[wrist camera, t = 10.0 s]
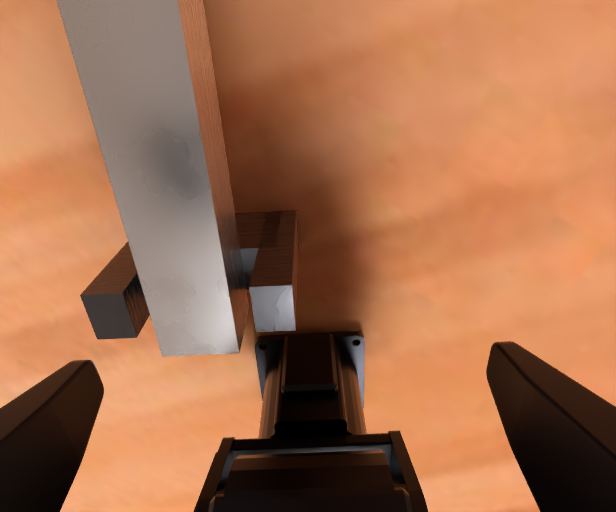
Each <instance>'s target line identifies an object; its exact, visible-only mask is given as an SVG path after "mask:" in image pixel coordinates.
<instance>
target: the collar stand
mask: <svg viewBox="0 0 616 512" xmlns="http://www.w3.org/2000/svg"><path fill="white" fill-rule="evenodd" d="M235 216H236V223H237V230H238V237H239V243H240V250H241V257H242V263H243V270H244V277H245V283H246V289H249V290H250V296H251V303H252V310H253V317H254V324H255V331H256V332H271V331H293V330H296V308H297V279H298V250H299V244H298V230H297V216H296V211H277V212H257V213H238V214H235ZM80 296H81V299H82V301H83V304H84V306H85V309H86V312H87V314H88V317H89V319H90V322H91V324H92V327H93V329H94V332H95V335H96V337H97V339H117V338H137V336H138V334H139V333H140V331H141V329H142V327H143V326H144V324H145V322H146V320H147V319H148V317H149V315H150V313H149V310H148V306H147V303H146V300H145V296H144V293H143V289H142V286H141V283H140V279H139V276H138V273H137V269H136V266H135V263H134V259H133V256H132V252H131V249H130V246H129V242H127V243H126V244H125V245H124V247H123V248H122V249H121V250H120V251H119V252H118V253H117V254H116V256H115V257H114V258H113V259H112V260H111V261H110V262H109V263H108V265H107V266H106V267H105V268H104V269H103V270H102V271H101V272H100V274H99V275H98V276H97V277H96V278H95V279H94V280H93V281H92V283H91V284H90V285H89V286H88V287H87V288H86V289H85V290H84V292H83V293H82V294H81V295H80Z"/></svg>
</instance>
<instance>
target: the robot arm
mask: <svg viewBox="0 0 616 512" xmlns="http://www.w3.org/2000/svg"><path fill="white" fill-rule="evenodd" d="M355 339H358V341H356V342H355V341H353V340H355ZM262 343H263V344H266V345H265V346H263V345H261V344H262ZM255 353H256V360H257V366H258V373H259V379H260V386H261V393H262V399H263V404H262V413H261V421H260V430H259V438H256V439H235V438H234V437H231V438H223V440H222V442H221V445H220V447H219V450H218V452H216V454H215V457H214V459H213V462H212V465H211V467H210V470H209V472H208V475H207V478H206V480H205V483H204V486H203V488H202V491H201V493H200V496H199V499H198V501H197V504H196V507H195V509H194V512H428V509H427V505H426V502H425V498H424V495H423V492H422V489H421V486H420V484H419V481H418V478H417V476H416V473H415V470H414V468H413V465H412V462H411V460H410V457H409V454H408V452H407V449H406V446H405V444H404V441H403V438H402V436H401V433H400V431H388V433H379V434H367V432H366V426H365V419H364V413H363V407H364V354H365V341H364V336H363V334H362V333H360V332H334V333H312V334H290V335H268V336H259V337H258V338H257V339H256V341H255ZM486 374H487V380H488V383H489V386H490V389H491V392H492V395H493V398H494V401H495V404H496V406H497V409H498V412H499V415H500V418H501V421H502V424H503V427H504V430H505V433H506V436H507V438H508V441H509V444H510V446H511V449H512V451H513V453H514V456H515V458H516V460H517V462H518V464H519V466H520V469H521V471H522V473H523V475H524V477H525V479H526V482H527V484H528V486H529V488H530V490H531V492H532V494H533V497H534V499H535V501H536V503H537V505H538V507H539V510H540V512H616V407H615V406H614V405H612V404H610V403H609V402H607V401H606V400H604V399H603V398H601V397H599V396H598V395H596V394H595V393H593V392H592V391H590V390H589V389H587V388H585V387H584V386H582V385H581V384H579V383H578V382H576V381H574V380H573V379H571V378H570V377H568V376H567V375H565V374H563V373H562V372H560V371H559V370H557V369H556V368H554V367H552V366H551V365H549V364H548V363H546V362H545V361H543V360H541V359H540V358H538V357H537V356H535V355H534V354H532V353H530V352H529V351H527V350H526V349H524V348H523V347H521V346H520V345H518V344H516V343H514V342H511V341H508V342H495V343H494V344H493V345H492V347H491V351H490V356H489V360H488V365H487V370H486ZM103 394H104V387H103V384H102V381H101V379H100V376H99V374H98V371H97V369H96V366H95V364H94V363H93V362H92V361H91V360H75V361H71V362H70V363H68V364H66V365H65V366H63V367H62V368H60V369H59V370H57V371H56V372H54V373H53V374H51V375H50V376H48V377H47V378H45V379H44V380H42V381H41V382H39V383H38V384H36V385H35V386H33V387H32V388H30V389H29V390H27V391H26V392H24V393H23V394H21V395H20V396H18V397H17V398H15V399H14V400H12V401H11V402H9V403H8V404H6V405H5V406H3V407H2V408H0V512H60V510H61V508H62V505H63V503H64V501H65V499H66V496H67V494H68V492H69V490H70V487H71V485H72V483H73V481H74V478H75V476H76V474H77V471H78V469H79V466H80V464H81V462H82V459H83V456H84V453H85V451H86V447H87V444H88V441H89V438H90V435H91V432H92V429H93V426H94V423H95V420H96V417H97V414H98V411H99V408H100V405H101V401H102V398H103Z"/></svg>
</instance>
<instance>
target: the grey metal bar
mask: <svg viewBox="0 0 616 512" xmlns="http://www.w3.org/2000/svg"><path fill="white" fill-rule="evenodd" d="M57 3H58V7H59V10H60V13H61V17H62V20H63V23H64V27H65V30H66V33H67V37H68V40H69V44H70V47H71V50H72V54H73V57H74V60H75V64H76V67H77V71H78V74H79V77H80V81H81V84H82V87H83V91H84V94H85V97H86V101H87V104H88V108H89V111H90V114H91V118H92V121H93V124H94V128H95V131H96V135H97V138H98V141H99V145H100V148H101V151H102V155H103V158H104V161H105V165H106V168H107V172H108V175H109V178H110V182H111V185H112V188H113V192H114V195H115V199H116V202H117V205H118V209H119V212H120V215H121V219H122V222H123V225H124V229H125V232H126V236H127V239H128V242H129V246H130V249H131V252H132V256H133V259H134V263H135V266H136V269H137V273H138V276H139V279H140V283H141V286H142V289H143V293H144V296H145V300H146V303H147V306H148V310H149V313H150V316H151V320H152V323H153V327H154V330H155V333H156V337H157V340H158V343H159V347H160V350H161V353H162V357H163V356H186V355H209V354H232V353H240V348H241V343H242V339H243V334H244V329H245V324H246V320H247V315H248V310H249V303H248V297H247V290H246V283H245V277H244V270H243V263H242V257H241V250H240V243H239V237H238V230H237V223H236V216H235V210H234V203H233V196H232V190H231V183H230V176H229V170H228V163H227V156H226V150H225V143H224V136H223V130H222V123H221V116H220V109H219V103H218V96H217V89H216V83H215V76H214V69H213V63H212V56H211V49H210V43H209V36H208V29H207V22H206V16H205V9H204V2H203V0H57Z"/></svg>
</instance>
